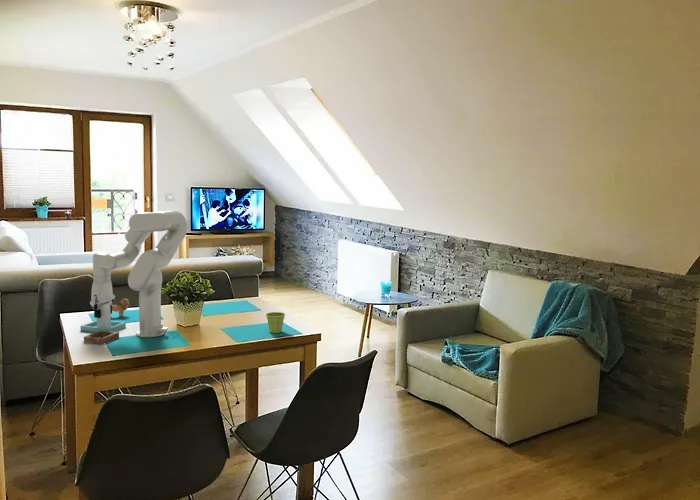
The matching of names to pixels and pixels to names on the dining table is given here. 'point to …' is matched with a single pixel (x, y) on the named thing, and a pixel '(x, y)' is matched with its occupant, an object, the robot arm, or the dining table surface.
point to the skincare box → (104, 316)
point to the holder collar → (105, 334)
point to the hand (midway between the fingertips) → (103, 315)
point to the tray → (93, 328)
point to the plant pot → (275, 321)
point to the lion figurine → (121, 307)
